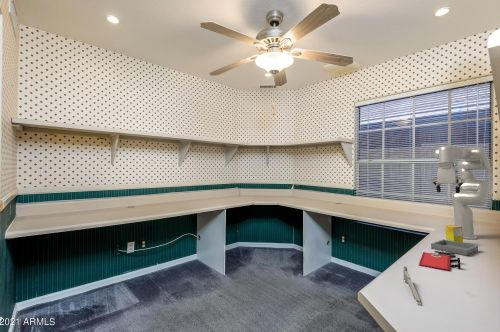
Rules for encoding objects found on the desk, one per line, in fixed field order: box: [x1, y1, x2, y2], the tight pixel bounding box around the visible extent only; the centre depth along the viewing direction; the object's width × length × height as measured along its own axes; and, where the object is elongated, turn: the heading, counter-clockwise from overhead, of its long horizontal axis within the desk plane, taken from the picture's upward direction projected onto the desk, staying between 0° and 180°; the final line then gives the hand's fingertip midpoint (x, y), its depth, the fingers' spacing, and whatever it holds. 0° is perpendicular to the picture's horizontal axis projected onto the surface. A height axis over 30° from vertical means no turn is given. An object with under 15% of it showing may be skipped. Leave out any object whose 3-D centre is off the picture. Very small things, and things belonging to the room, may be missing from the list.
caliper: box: [402, 265, 422, 306], centre depth 88 cm, size 20×1×6 cm, turn 159°
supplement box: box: [444, 224, 464, 243], centre depth 148 cm, size 6×6×11 cm
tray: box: [430, 239, 479, 257], centre depth 136 cm, size 16×16×3 cm
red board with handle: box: [418, 250, 462, 272], centre depth 120 cm, size 30×3×15 cm
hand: (448, 192), depth 151 cm, fingers open, 9 cm apart
